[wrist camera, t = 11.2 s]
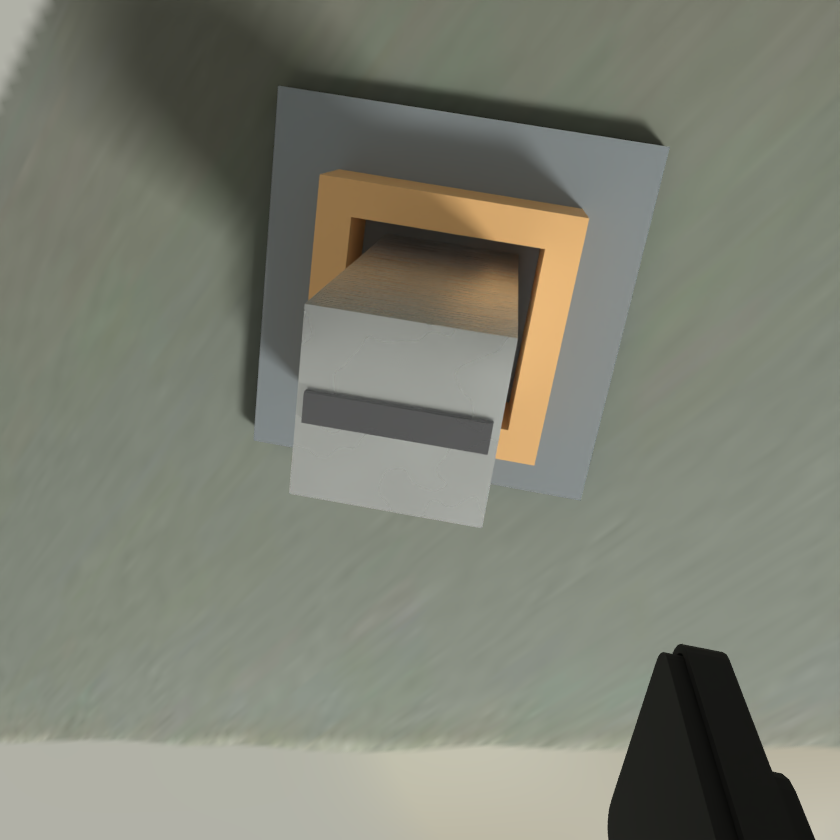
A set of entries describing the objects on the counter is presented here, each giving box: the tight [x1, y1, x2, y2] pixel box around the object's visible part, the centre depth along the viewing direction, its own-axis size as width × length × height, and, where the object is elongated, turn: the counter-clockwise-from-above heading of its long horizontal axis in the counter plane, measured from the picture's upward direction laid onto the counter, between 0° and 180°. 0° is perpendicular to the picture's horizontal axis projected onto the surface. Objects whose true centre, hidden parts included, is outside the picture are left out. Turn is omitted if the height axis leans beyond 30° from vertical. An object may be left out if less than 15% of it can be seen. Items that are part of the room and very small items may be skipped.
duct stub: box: [289, 234, 518, 528], centre depth 24 cm, size 5×5×12 cm
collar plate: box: [254, 86, 670, 500], centre depth 29 cm, size 14×14×4 cm
